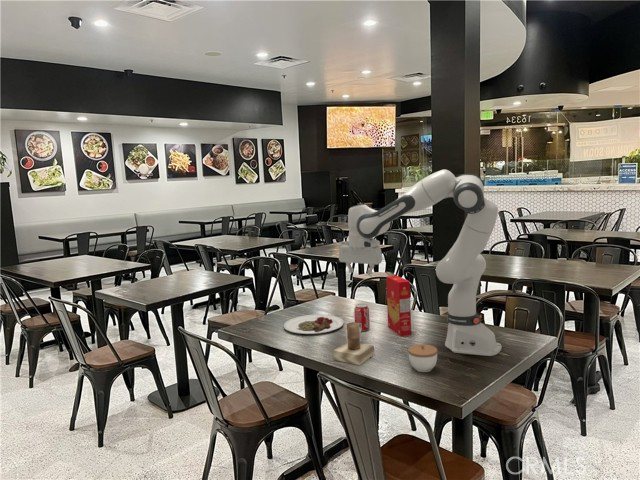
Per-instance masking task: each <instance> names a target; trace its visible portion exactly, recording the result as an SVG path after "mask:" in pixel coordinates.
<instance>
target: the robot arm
mask: <svg viewBox="0 0 640 480" xmlns="http://www.w3.org/2000/svg"><path fill="white" fill-rule="evenodd" d="M484 187H485V186H484V181H483V179H482V177H480V176H479V175H477V174H475V173H465V174H464V173H462V174H456V175H455V174H454V173H452V172H451V171H450V170H448V169H440V170H438V171H435V172H433V173H432V174H431V173H430V174H429V175H427V176H425V177H423V178H422V179H420V180H419V181H418V182H416V183H415V184H413V185H412V186H411V187H409V189H408V190H407V191H405V192H404V193H403V194H402V195H401V196H399V197H398V198H396V199H395V200H394V201H392V202H391V203H388V204H387V205H386V206H384V207H382V208H381V209H379V210H376V209H373V208H371V207H369V206H368V205H367V204H364V203H361V204H357V205H353V206H351V207H350V208H348V214H347V223H348V224H347V227H348V230H349V232H348V241H344V240H342V241H341V242H340V243H338V261H339V262H340V263H345V265H346V267H347V269H348V273H354V272H355V270H354V268H353V267H352V264H362V265H363V264H364V265H365V264H367V265H369V269H367V270H366V271H367V275H372V274H373V269H374V268H375V265H380V264H382V262H383V255H382V254H383V253H382V249H381V247H380V246H381V241H380V240H378V239H376V238H375V237H377V236H379V235H383V234H384V233H386V232H387V231H389V229H390V228H391V222H393V221H395V220H396V219H398V218H399V217H401V216H402V217H403V216H404V215H406V214H410V213H415V212H419V211H422V210H426V209H428V208H430V207H432V206H434V205H436V204H438V203H439V202H440V201H442V200H443V199H447V198H453V202H454V203H455V205H456V206H457V207H458V208H459V209H461V210H463V211H465V212H466V213H467V216H466V217H465V220H464V222H463V225H462V228H461V230H460V232H459V235H458V237H457V239H456V241H455V242H454V243H453V245H452V247H451V248H450V249H449V250H448V252H447V253H446V254H445V256H444V257H443V258H442V259H441V260H440V261H438V263H437V264H436V265H435V266H436V267H435V274H436V276H437V279H438V280H439V281H440V282H442V283H444V284H453V285H452V287H451V289H450V291H449V293H448V295H447V304H448V305H447V308H448V309H447V314H446V315H447V317H446V322H447V333H446V338H445V342H444V346H445V347H446V348H447V349H449V350H450V351H452V353H456V354H465V355H466V354H467V355H477V356H486V357H493V356H496V355H498V354H499V353H500V352H501V351H502V349H503V347H502V344H501V343H499V342H497V340H496V335H495V333H494V332H493V331H492V330H491V329H490V328H488V327H487V326H486V325H485V324H484V323H482V321H481V320H482V314H480V315H479V314H478V313H477V294H478V288H479V283H480V281H481V277H482V275H483V274H484V272H485V271H486V268H487V262H486V259H485V257H484V256H483V255H482V254H481V253H482V252H484V250H485V249H486V247H487V244H488V242H489V240H490V238H491V235H492V232H493V231H494V228H495V226H496V222H497V218H498V214H499V207H498V205H497V203H495V202H493V201H491V200H489V199H487V198H486V197H485V188H484Z"/></svg>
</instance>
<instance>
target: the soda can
mask: <svg viewBox="0 0 640 480" xmlns="http://www.w3.org/2000/svg"><path fill="white" fill-rule="evenodd" d="M353 313H354V314H353V315H354V322H356V323H359V328H361V332H366V331H369V329H370V325H371V324H370V323H371V322H370V308H369V306H368V304H367V303H357V304H355V307H354V312H353Z"/></svg>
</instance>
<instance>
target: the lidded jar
mask: <svg viewBox="0 0 640 480" xmlns="http://www.w3.org/2000/svg"><path fill="white" fill-rule="evenodd" d="M407 351H408V359H409V363H410V365H411V366H412V367H413V368H414V370H415V371H416V370H417V372H419V373H428V372H431V371H432V370H433V369H434V368H435V366H436V364H437V360H438V348H437V347H435V346H434V345H431V344H422V343H421V344H415V345H411V346H409V347H408V350H407Z"/></svg>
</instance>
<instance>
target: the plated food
mask: <svg viewBox="0 0 640 480" xmlns="http://www.w3.org/2000/svg"><path fill="white" fill-rule="evenodd" d="M344 324H345V322H344V320H343V319H342V318H341V317H339V316H336V315H330V314H320V313H319V314H306V315H300V316H295V317H293V318H291V319H288V320H286V321H285V322H284V324H283V328H284V329H285V330H286V331H288V332H290V333H295V334H304V335H315V334H316V335H319V334H323V333H329V332H333V331H336V330H338V329H340V328H341V327H342V326H343V325H344Z"/></svg>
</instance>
